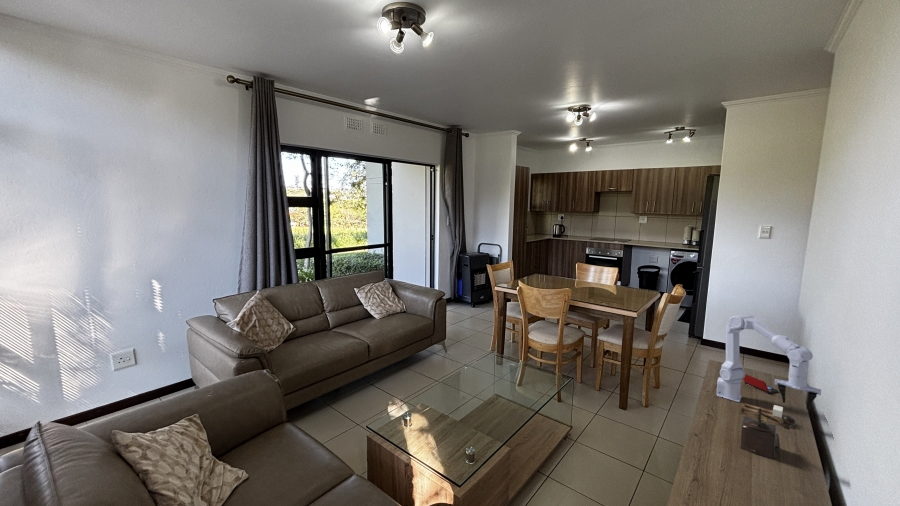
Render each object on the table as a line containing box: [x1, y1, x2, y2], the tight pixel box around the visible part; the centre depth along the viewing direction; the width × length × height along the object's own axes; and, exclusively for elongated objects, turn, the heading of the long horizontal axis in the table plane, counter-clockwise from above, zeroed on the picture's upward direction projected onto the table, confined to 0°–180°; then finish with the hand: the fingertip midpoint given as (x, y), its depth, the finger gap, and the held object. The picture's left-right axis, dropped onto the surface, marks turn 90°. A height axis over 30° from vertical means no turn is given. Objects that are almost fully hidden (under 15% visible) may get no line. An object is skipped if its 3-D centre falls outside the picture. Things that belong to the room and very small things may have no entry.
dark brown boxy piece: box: [739, 407, 796, 459], centre depth 142 cm, size 16×11×18 cm
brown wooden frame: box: [740, 402, 790, 427], centre depth 166 cm, size 16×6×3 cm, turn 44°
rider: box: [772, 404, 784, 418], centre depth 162 cm, size 3×5×5 cm, turn 134°
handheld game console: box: [742, 373, 779, 395], centre depth 194 cm, size 12×11×7 cm
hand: (795, 404), depth 158 cm, fingers open, 7 cm apart
